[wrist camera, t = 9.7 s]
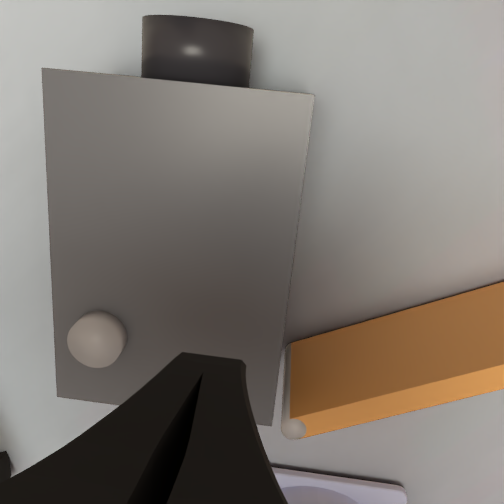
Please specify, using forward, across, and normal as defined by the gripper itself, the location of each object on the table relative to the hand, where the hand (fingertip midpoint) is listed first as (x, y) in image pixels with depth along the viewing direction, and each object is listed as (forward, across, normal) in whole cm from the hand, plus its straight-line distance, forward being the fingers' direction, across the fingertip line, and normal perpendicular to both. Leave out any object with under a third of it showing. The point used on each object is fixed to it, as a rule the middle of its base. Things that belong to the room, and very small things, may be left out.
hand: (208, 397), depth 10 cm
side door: (+9, -9, +1) cm, 13 cm away
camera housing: (+9, +2, -1) cm, 10 cm away
